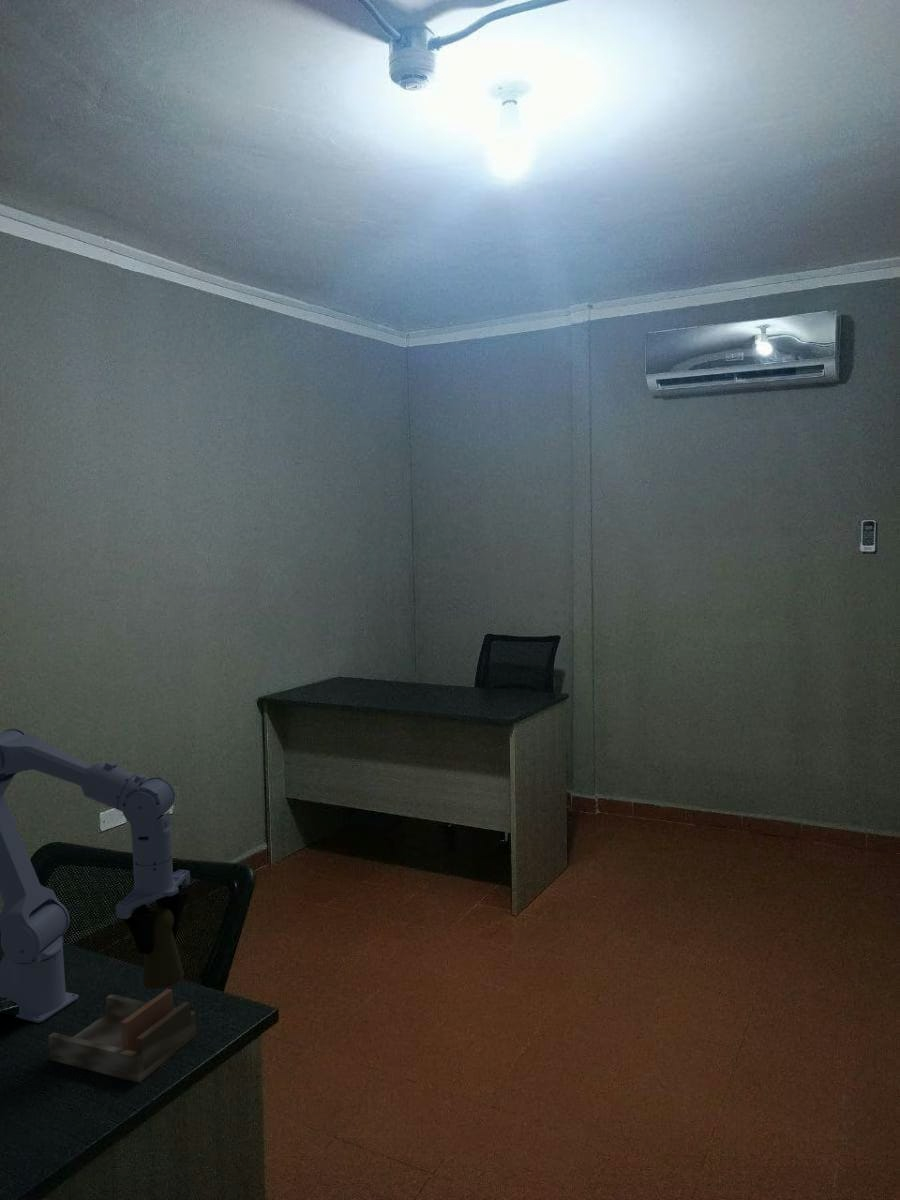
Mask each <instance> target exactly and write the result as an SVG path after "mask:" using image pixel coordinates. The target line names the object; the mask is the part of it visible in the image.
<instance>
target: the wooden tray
mask: <svg viewBox="0 0 900 1200" xmlns="http://www.w3.org/2000/svg"><path fill="white" fill-rule="evenodd" d="M105 1000H106V1001H105V1002H106V1014H104V1015H102V1016H101V1017H100V1018H98V1019H97V1020H95V1021H94V1022H92V1023H91V1024H90V1025H88V1026H87V1027H85V1028H84V1029H82V1030H81V1031H80V1032H78V1033H77V1034H75V1035H74V1036H72V1035H67V1034H63V1033H58V1032H55V1031H54V1032H52V1033H51V1034H49V1035H48V1047H49V1050H48V1051H49V1060H50V1061H52V1062H57V1063H60V1064H65V1065H69V1066H72V1067H77V1068H81V1069H84V1070H89V1071H93V1072H96V1073H99V1074H104V1075H107V1076H111V1077H116V1078H118V1079H119V1078H120V1079H124V1080H127V1081H131V1082H135V1083H138V1082H139V1083H141V1082H142V1081H144V1080H145V1079H146V1078H147V1077H149V1075H151V1074H152V1073H153V1072H154V1071H155V1070H156V1069H158V1068H159V1067H160V1066H161V1065H162V1064H164V1063H165V1062H166V1061H167V1060H169V1057H170V1058H171V1057H173V1055H174V1053H175V1054H176V1053H177V1052H178V1051H179V1050H181V1049H182V1048H183V1047H185V1045H186V1044H188V1043H189V1042H191V1040H193V1039H194V1038H195V1037H196V1036H198V1034H197V1032H198V1031H197V1018H196V1016H197V1015H196V1012H195V1011H192V1009H191V1008H192V1007H191V1002H189V1001H183V1002H181V1003H180V1004H179V1005H178V1006H176V1007H174V1010H173V1011H171V1012H170V1013H169V1014H167V1015H166V1016H165V1017H163V1018H162V1019H161V1020H159V1021H158V1022H157V1023H155V1024H154V1025H153V1026H151V1027H150V1028H149V1029H148V1030H146V1031H145V1032H144V1033H142V1034H141V1035H140V1036H138V1037H137V1038H136V1043H137V1052H134V1051H130V1050H126V1049H123V1046H122V1031H121V1022H122V1021H123V1020H124V1019H126V1018H127V1017H129V1016H130V1015H131V1014H133V1013H134V1012H135V1011H137V1010H138V1009H140V1008H141V1007H142V1006H144V1005H145V1004H147V1003H148V1002H149V1001H144V1000H139V999H135V998H130V997H125V996H120V995H116V994H113V993H112V994H109V995H108V996H106V997H105ZM187 1042H188V1043H187ZM181 1047H182V1048H181ZM180 1048H181V1049H180ZM177 1050H178V1051H177ZM176 1051H177V1052H176ZM145 1077H146V1078H145Z"/></svg>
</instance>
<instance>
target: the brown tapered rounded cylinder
mask: <svg viewBox="0 0 900 1200" xmlns="http://www.w3.org/2000/svg"><path fill="white" fill-rule="evenodd" d="M149 911H155V912H158V913H157V916H156V919H155V923H154V929H153V950H152V953H151V954H149V955H147V954H143V985H144V987H145V988H146V989H150V990H151V989H152V990H158V989H159V990H160V989H165V988H168V987H171V986H173V985H175V984H177V983H179V982H180V981H181V980H182V979H183V978H184V977H185V972H184V968H183V964H182V961H181V957H180V953H179V950H178V946H177V943H176V939H175V938H174V935H173V931H172V927H173V925H174V915H173V912H172V911H171V910H170V909H169V908H165V907H158V906H157V907H154V908H151V909H150V908H149Z"/></svg>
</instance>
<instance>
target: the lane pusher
mask: <svg viewBox="0 0 900 1200" xmlns="http://www.w3.org/2000/svg"><path fill="white" fill-rule="evenodd" d="M147 1002H148V1003H147V1004H145V1005H144V1006H142V1007H141V1008H140V1009H138V1010H137V1011H135V1012H134V1013H133V1014H131V1015H130V1016H129V1017H127V1018H126V1019H124V1020H123V1021H122V1022H121V1031H122V1046H123V1049H126V1050H130V1051H134V1052H137V1043H136V1038H137V1037H138V1036H140V1035H141V1034H142V1033H144V1032H145V1031H146V1030H148V1029H149V1028H150V1027H151V1026H153V1025H154V1024H155V1023H157V1022H158V1021H159V1020H161V1019H162V1018H163V1017H165V1016H166V1015H167V1014H169V1013H170V1012H171V1011H173V1010H174V1008H175V1006H174V1005H175V1004H174V989H171V988H166V989H165V990H164V991H161V993H159V994H158V995H157V996H155V997H154V998H152V999H151V1000H149V1001H147Z"/></svg>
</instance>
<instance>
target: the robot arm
mask: <svg viewBox="0 0 900 1200" xmlns="http://www.w3.org/2000/svg"><path fill="white" fill-rule="evenodd" d="M31 770H34V771H35V772H39V773H43V774H45V775H48V776H51V777H53V778H57V779H60V780H62V781H65V782H69V783H71V784H74V785H77V786H80V788H81V790H82V793H83V796H85V797H86V798H89V799H91V800H94V801H95V802H98V803H99V804H103V805H105V806H107V807H110V808H112V809H115V810H117V811H119V812H122V814H123V816H124V818H125V820H127V822H128V823H129V825H130V832H131V833H130V834H131V847H132V866H133V867H132V868H133V879H134V880H133V881H134V883H133V884H134V888H133V889H132V890H131V891H130V892H129V893H128V894H127V895H126V896H125V897H124V898H123V899H122V900H121V901H120V902H118V903H117V904H115V918H117V919H118V918H119V919H122V921H124V923H125V925H126V926H127V927H128V929H129V931H130V933H131V935H132V938H133V940H134V944H135V946H136V948H137V952H138V954H143V955H144V954H147V955H149V954H151V953H152V950H153V929H154V923H155V919H156V916H157V913H158V912H155V911H149V910H150V908H149V907H147V905H149V904H151V903H152V902H154V901H155V902H156V905H157V908H158V907H165V908H169V909H170V910H171V911H172V912H173V915H174V925H173V927H172V931H173V935H174V939H175V938H177V935H178V929H179V925H180V920H181V915H182V912H183V909H184V907H185V904H186V902H187V900H188V898H189V896H190V891H189V889H188V888H183V887H182V885H188V884H190V883H191V873H190V872H191V871H190V870H187V869H178V870H176V871H173V869H174V868H173V867H174V866H173V851H172V850H173V849H172V832H171V830H172V829H171V828H172V827H171V818H170V817H171V816H170V809H171V808H172V807H173V805H174V802H175V799H176V798H175V790H174V788H173V786H172V785H171V784H170V783H169V782H168V781H167V780H165V779H163V778H162V777H161V776H153V777H149V778H145V775H143V774H141V773H138V774H135V773H133V772H130V771H128V770H125V769H122V768H120V767H118V763H117V762H114V761H113V760H108V761H107V762H106V761H100V762H97V763H95V764H90V763H88V762H85V761H84V760H82V759H80V758H77V757H75V756H73V755H71V754H69V753H67V752H65V751H63V750H61V749H59V748H57V747H54V746H52V745H50V744H49V743H46V742H44V741H43V740H41V739H40V738H39V737H38V736H37V735H36V734H35V733H30V732H26V731H24V730H23V729H20V728H15V727H14V728H9V729H8V728H7V729H5V730H3V731H2V732H0V895H1V896H0V897H1V898H2V900H3V904H2V905H3V906H2V909H1V911H0V934H1V935H0V945H1V949H2V952H3V953H4V955H3V957H2V958H1V960H0V997H2V998H7V999H8V1000H11V1001H13V1002H15V1003H16V1004H17V1005H18V1006H19V1014H17V1015H16V1017H18V1018H17V1019H20V1018H21V1019H22V1020H25V1021H30V1022H33V1023H37V1024H39V1023H42V1022H44V1021H45V1020H47V1019H49V1018H50V1017H52V1016H53V1015H55V1014H56V1013H58V1012H60V1011H61V1010H63V1009H64V1008H65V1007H67V1006H69V1005H70V1004H72V1003H73V1002H75V1001H77V1000H78V999H79V998H80V996H79V994H76V993H72V992H67V991H66V977H65V976H66V975H65V964H64V963H65V962H64V961H65V960H64V950H63V948H64V947H63V942H64V934H65V933H66V932H67V930H68V928H69V926H70V921H71V920H70V919H71V918H70V913H69V910H68V909H67V907H66V906H65V905H64V904H63V903H62V902H60V901H59V900H58V898H57V896H56V894H55V892H54V891H55V890H53V889H51V888H48V887H46V886H44V885H42V884H41V883H40V881H39V878H38V876H37V873H36V871H35V868H34V866H33V863H32V861H31V859H30V856H29V853H28V851H27V849H26V846H25V842H24V841H23V839H22V835H21V834H20V831H19V828H18V826H17V823H16V821H15V819H14V817H13V814H12V812H11V809H10V807H9V804H8V802H7V800H6V796H5V793H6V791H7V789H8V787H9V786H10V784H11V782H12V779H14V777H15V775H16V774H18V773H22V772H27V771H31ZM16 1017H15V1018H16Z"/></svg>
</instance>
